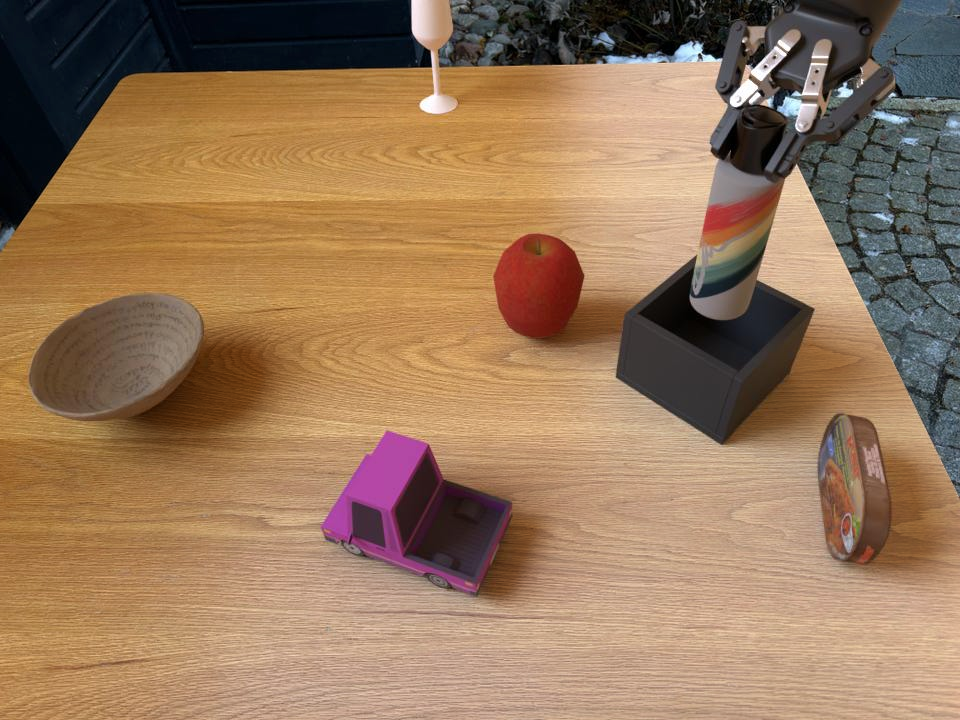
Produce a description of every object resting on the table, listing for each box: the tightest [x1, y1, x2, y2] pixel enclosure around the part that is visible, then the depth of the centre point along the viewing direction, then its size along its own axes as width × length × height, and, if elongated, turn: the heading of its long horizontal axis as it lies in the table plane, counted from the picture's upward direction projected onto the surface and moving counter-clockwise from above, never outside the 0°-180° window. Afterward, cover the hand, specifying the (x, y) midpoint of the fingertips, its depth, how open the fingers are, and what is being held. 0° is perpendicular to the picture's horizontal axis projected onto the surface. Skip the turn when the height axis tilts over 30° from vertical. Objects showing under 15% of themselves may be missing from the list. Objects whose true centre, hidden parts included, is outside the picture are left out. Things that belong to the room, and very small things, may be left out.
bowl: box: [27, 292, 205, 422], centre depth 83 cm, size 18×18×8 cm
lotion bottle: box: [690, 104, 789, 320], centre depth 66 cm, size 6×6×20 cm
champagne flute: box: [411, 0, 458, 115], centre depth 122 cm, size 7×7×24 cm
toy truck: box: [320, 430, 513, 598], centre depth 69 cm, size 11×16×10 cm
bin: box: [615, 254, 816, 445], centre depth 81 cm, size 14×14×10 cm
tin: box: [817, 412, 893, 565], centre depth 69 cm, size 15×3×8 cm, turn 168°
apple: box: [492, 232, 585, 339], centre depth 86 cm, size 10×10×14 cm
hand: (743, 166), depth 60 cm, fingers closed on lotion bottle, 4 cm apart
